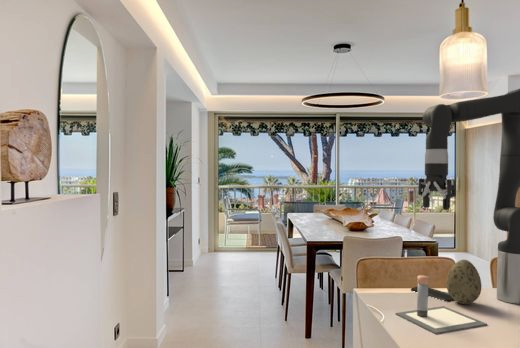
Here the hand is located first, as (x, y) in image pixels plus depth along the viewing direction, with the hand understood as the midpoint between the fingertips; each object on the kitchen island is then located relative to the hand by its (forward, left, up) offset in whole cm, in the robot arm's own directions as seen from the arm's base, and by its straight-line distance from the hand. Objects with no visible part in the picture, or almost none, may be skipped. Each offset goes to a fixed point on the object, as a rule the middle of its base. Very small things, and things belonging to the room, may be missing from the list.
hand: (435, 208), depth 139 cm
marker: (+17, +12, -32) cm, 38 cm away
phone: (-5, -5, -33) cm, 33 cm away
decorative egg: (-7, +6, -32) cm, 34 cm away
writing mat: (+13, +15, -32) cm, 38 cm away
